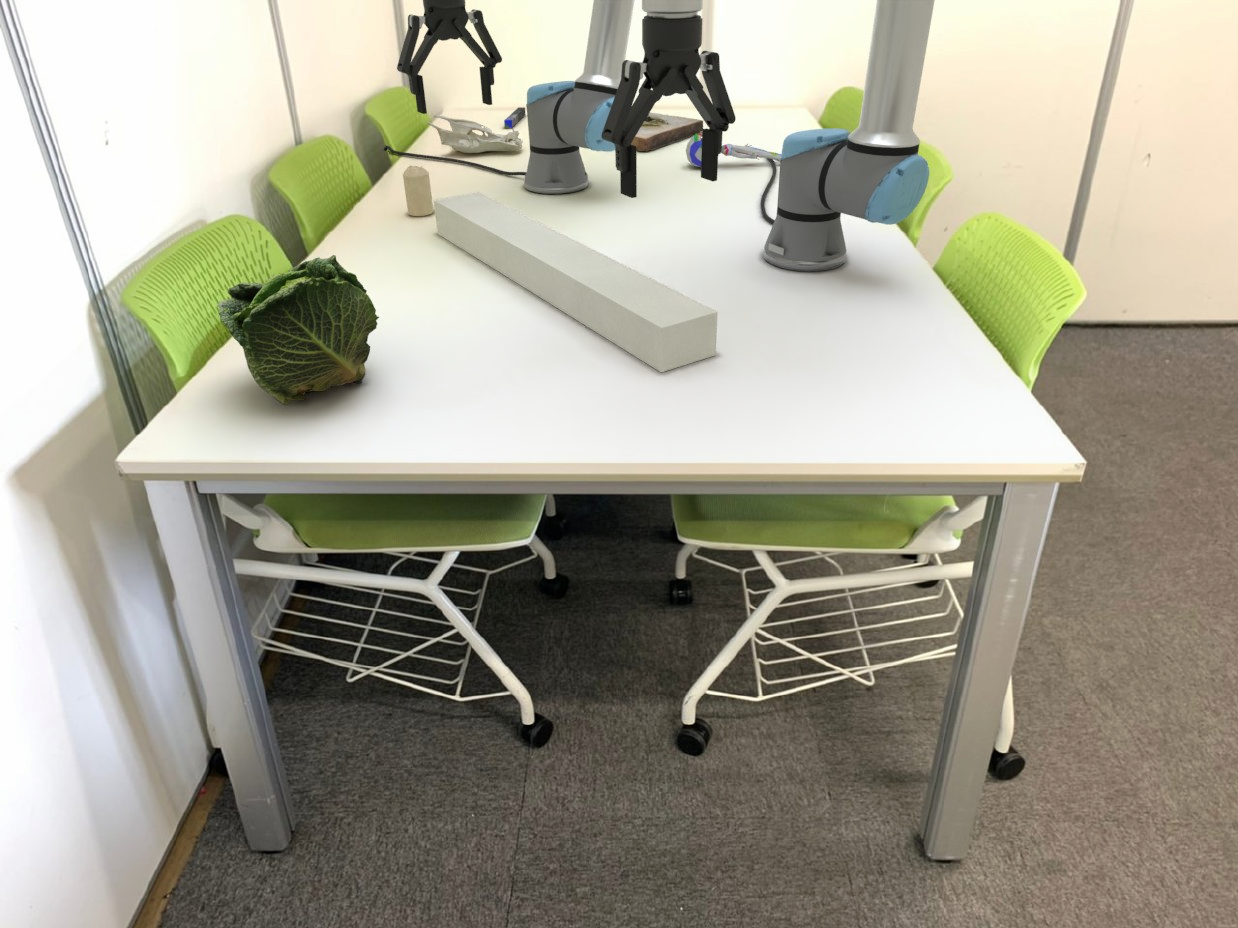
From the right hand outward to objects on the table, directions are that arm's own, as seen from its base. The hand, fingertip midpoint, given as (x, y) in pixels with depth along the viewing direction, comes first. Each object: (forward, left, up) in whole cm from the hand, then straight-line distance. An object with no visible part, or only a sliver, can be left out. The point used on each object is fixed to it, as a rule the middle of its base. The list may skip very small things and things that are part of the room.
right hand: (669, 187), depth 122 cm
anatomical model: (-114, -77, -25) cm, 140 cm away
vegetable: (+22, -47, -25) cm, 57 cm away
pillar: (-153, -80, -25) cm, 174 cm away
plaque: (-141, -39, -25) cm, 148 cm away
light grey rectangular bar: (-23, -25, -25) cm, 42 cm away
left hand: (-46, -51, 0) cm, 69 cm away
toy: (-114, -3, -25) cm, 116 cm away
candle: (-58, -68, -25) cm, 93 cm away
